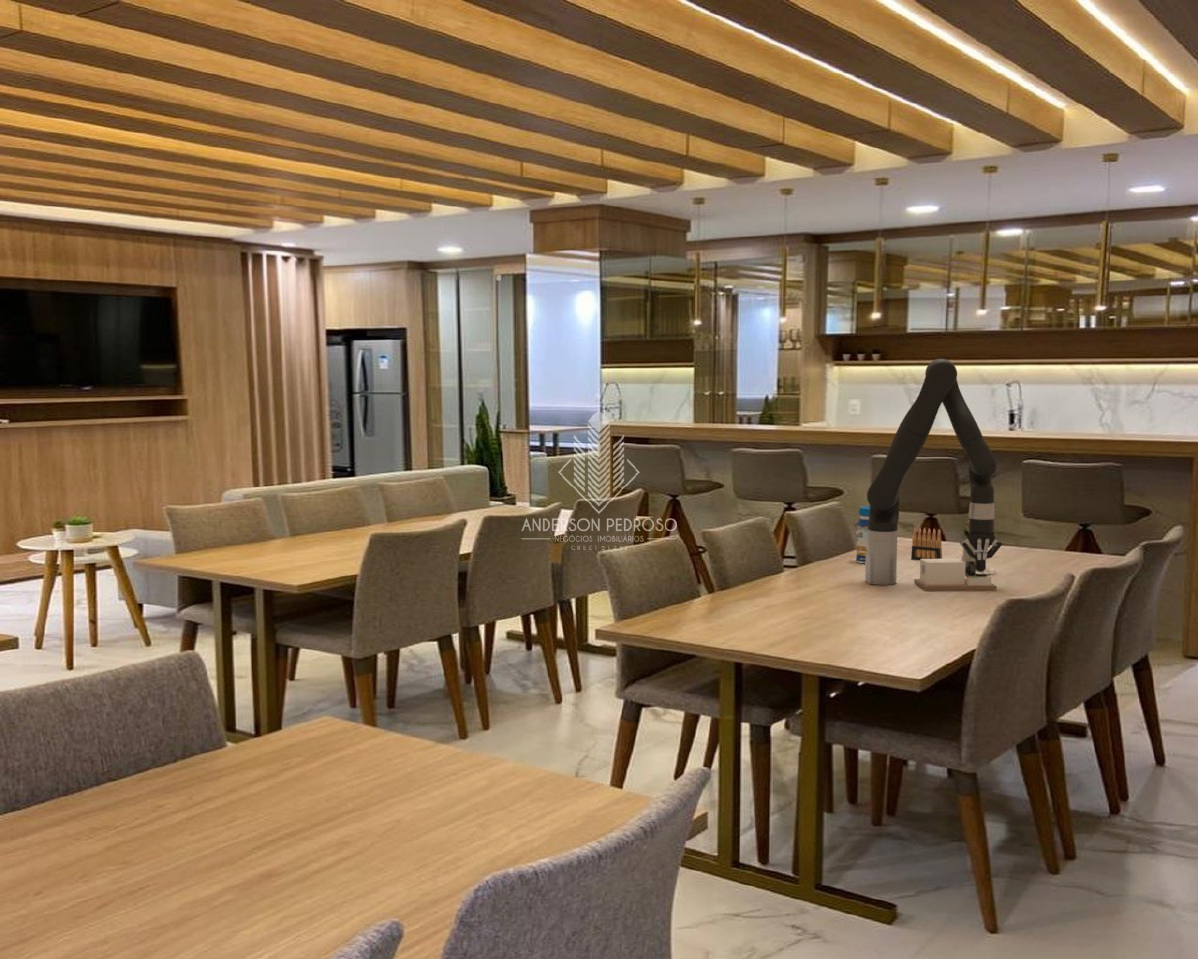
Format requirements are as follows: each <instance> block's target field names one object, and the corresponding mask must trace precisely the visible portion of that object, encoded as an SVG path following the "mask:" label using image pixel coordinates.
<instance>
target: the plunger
mask: <svg viewBox="0 0 1198 959" xmlns="http://www.w3.org/2000/svg"><path fill="white" fill-rule="evenodd" d="M968 576H978V574H976V569H975V564H974V562H973V561H966V563H965V579H967V577H968Z"/></svg>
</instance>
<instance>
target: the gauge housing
mask: <svg viewBox="0 0 1198 959" xmlns="http://www.w3.org/2000/svg"><path fill="white" fill-rule="evenodd" d="M913 581H914V585H916V586H917V587H918V588H920V589H922V590H923V591H925V592H967V591H968V592H981V591H982V592H984V591H985V592H992V591H993V592H995V591H997V587H998V586H997V585H996V584H994V583H992V577H991V576H978V575H975V576H968V577H967V578H966V575H965V562H964V561H962V559H959V558H942V559H920V562H919V578H914V579H913Z"/></svg>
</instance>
